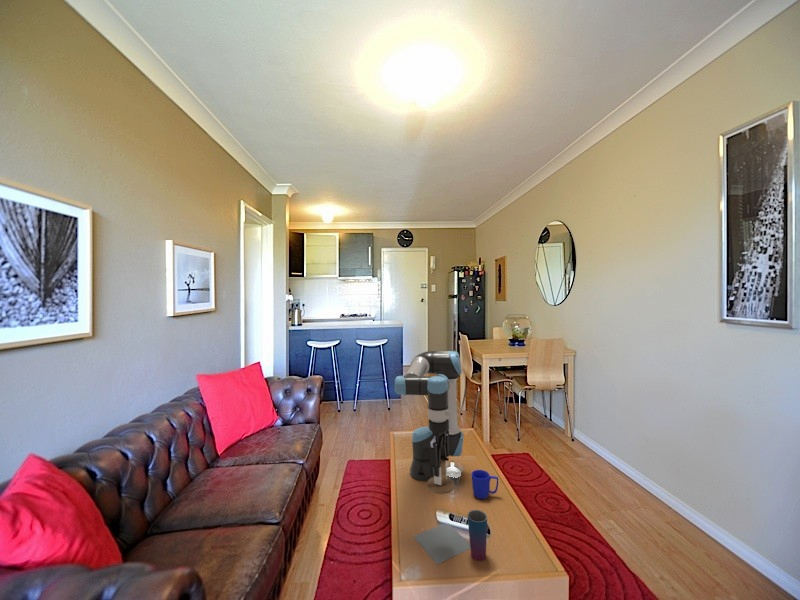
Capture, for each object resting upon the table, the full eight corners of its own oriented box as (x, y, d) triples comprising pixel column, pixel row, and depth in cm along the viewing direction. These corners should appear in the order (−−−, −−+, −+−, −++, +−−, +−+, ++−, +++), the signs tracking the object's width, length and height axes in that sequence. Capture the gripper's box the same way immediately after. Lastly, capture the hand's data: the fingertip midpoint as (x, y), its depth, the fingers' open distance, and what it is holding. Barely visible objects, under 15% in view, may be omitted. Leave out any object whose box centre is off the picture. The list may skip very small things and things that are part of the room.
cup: (466, 551, 123) (465, 510, 123) (484, 549, 124) (483, 508, 124) (471, 566, 117) (470, 522, 117) (491, 564, 117) (489, 521, 117)
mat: (413, 539, 131) (413, 536, 131) (447, 524, 138) (446, 522, 138) (437, 567, 117) (436, 564, 117) (473, 549, 124) (473, 546, 124)
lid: (422, 483, 130) (421, 459, 130) (443, 476, 135) (443, 453, 134) (437, 496, 121) (436, 471, 121) (459, 488, 126) (458, 463, 126)
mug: (499, 502, 152) (499, 480, 152) (472, 500, 155) (471, 478, 155) (498, 492, 160) (497, 470, 160) (472, 490, 163) (471, 469, 163)
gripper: (438, 428, 118) (440, 495, 119) (456, 413, 133) (458, 472, 133) (419, 425, 122) (421, 489, 122) (439, 410, 137) (440, 468, 137)
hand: (440, 480), depth 128 cm, fingers closed on lid, 4 cm apart
